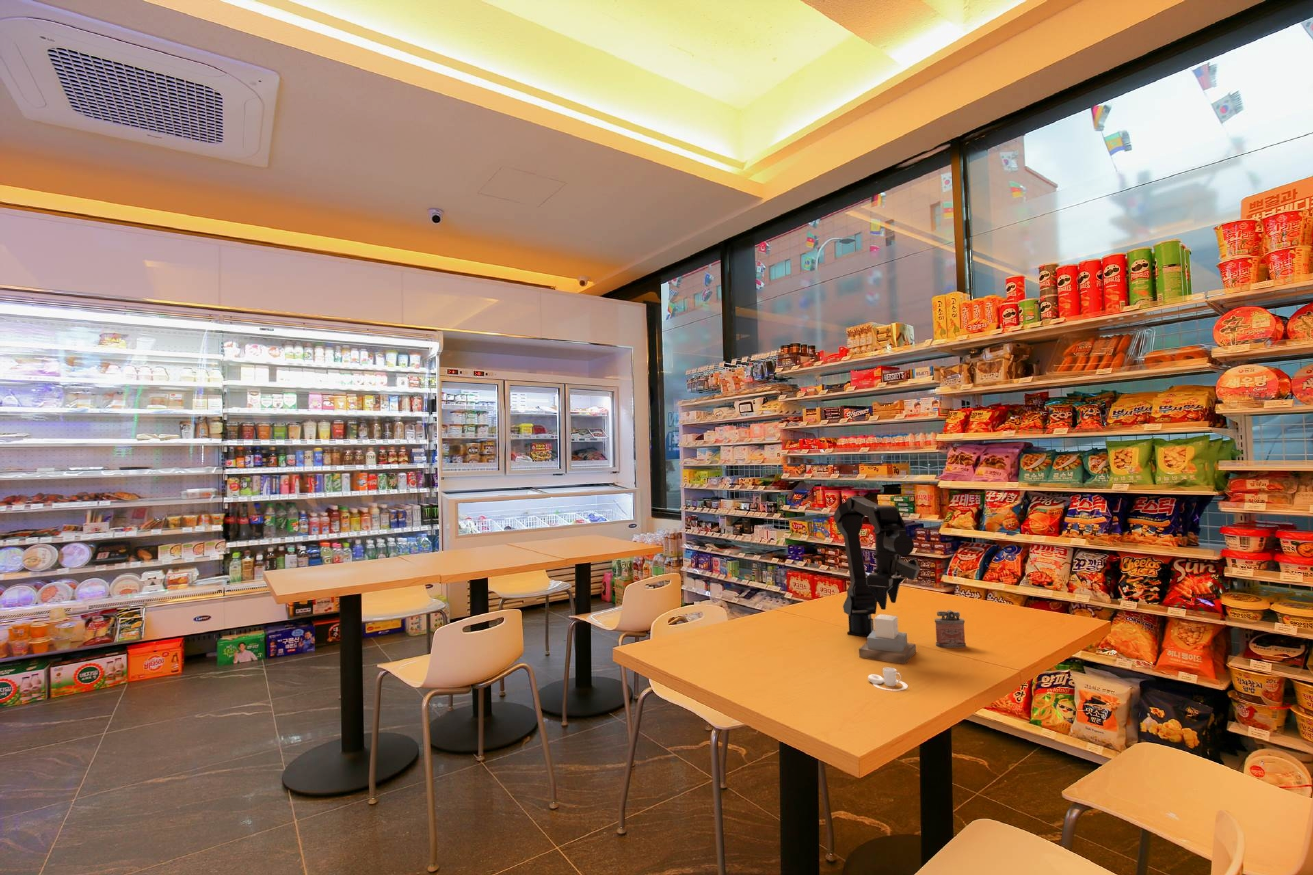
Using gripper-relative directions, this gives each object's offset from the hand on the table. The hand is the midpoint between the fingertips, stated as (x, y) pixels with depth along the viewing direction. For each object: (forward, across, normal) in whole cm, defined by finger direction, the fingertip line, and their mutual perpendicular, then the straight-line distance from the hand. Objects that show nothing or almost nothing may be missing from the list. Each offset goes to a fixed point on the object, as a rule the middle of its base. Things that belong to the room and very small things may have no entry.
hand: (888, 606), depth 173 cm
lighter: (+13, +14, -13) cm, 23 cm away
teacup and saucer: (+13, -23, -6) cm, 27 cm away
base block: (+14, -3, 0) cm, 14 cm away
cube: (+8, -3, 0) cm, 8 cm away
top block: (+10, -3, 0) cm, 11 cm away
